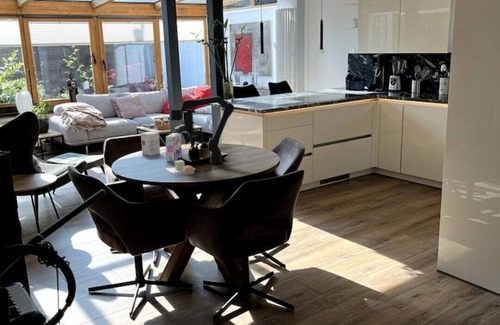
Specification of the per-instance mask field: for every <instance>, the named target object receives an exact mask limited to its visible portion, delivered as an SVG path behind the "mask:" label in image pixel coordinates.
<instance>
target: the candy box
mask: <svg viewBox="0 0 500 325" xmlns="http://www.w3.org/2000/svg"><path fill="white" fill-rule="evenodd" d="M164 139H165V153H166V154H165V155H166V156H165V157H166V162H173V163H175V161H179V160H178V157H180V156H182V157H183V153H182V151H183V150H182V149H183V148H182V134H181V133H179V134H178V133H175V132H174V133H171V134H169V135H166V136H165V138H164Z"/></svg>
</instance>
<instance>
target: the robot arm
mask: <svg viewBox="0 0 500 325" xmlns="http://www.w3.org/2000/svg"><path fill="white" fill-rule="evenodd" d="M212 104H218V105H220V106H221V107H222V108H223V110H222V116H221V118H220V120H219V122H218V125H217V126H216V129H215V132H214V134H213V136H212V137H209V139H208V140H209V141H208V142H207V149H208V151H209V152H211V153H210V156H209V163H210V164H212V165H220V164H224V162H223V156H222V155H223V153H222V150H221V148H220V147H219V143H220V138H221V135H222V134H223V132H224V129H225V127H226V124H227V122H228V120H229V118H230V117H231V115H232V113H233V112H234V110H235V105H233V103H232V102H228V101H226V100H225V99H224V98H222V97H221V96H219V95H216V96H215V95H214V96H210V97H204V98H197V99H196V98H194V99H193V98H192V99H191V98H186V99H184V100H183V101H182V106H181V107H180V109H174V108H173V109H172V108H171V110H170V112H171V113H170V120H171V121H173V122H175V121H177V122H178V121H182V119H183V121H182V123H181V124H180V125H178V126H175V127H174V129H175V132H176V133H178V134H179V133H181V136H183V139H184V142H185V145H188V144H189V143H190V146H191V147H194V146H195V143H196V141H197V139H198V137H199V135H200V131H198V130H197V129H196V128H194V124H195V121H194V114H196V110H195V109H194V108H196V107H198V106H199V107H200V106H206V105H212Z"/></svg>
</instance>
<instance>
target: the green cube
mask: <svg viewBox="0 0 500 325" xmlns="http://www.w3.org/2000/svg"><path fill="white" fill-rule="evenodd" d="M185 166H186V165H185V161H184V160H182V159H179V160H177V161H175V162H174V167H175V169H177V170H180V169H182V167H185Z"/></svg>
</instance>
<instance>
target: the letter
mask: <svg viewBox="0 0 500 325" xmlns="http://www.w3.org/2000/svg"><path fill="white" fill-rule="evenodd" d="M165 169H166V170H167V171H168V172H170V173H171V174H172V173H173V174H174V173H179V172H182V169H180V170H177V169H175V166H174V167H169V168H167V167H166V168H165Z"/></svg>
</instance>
